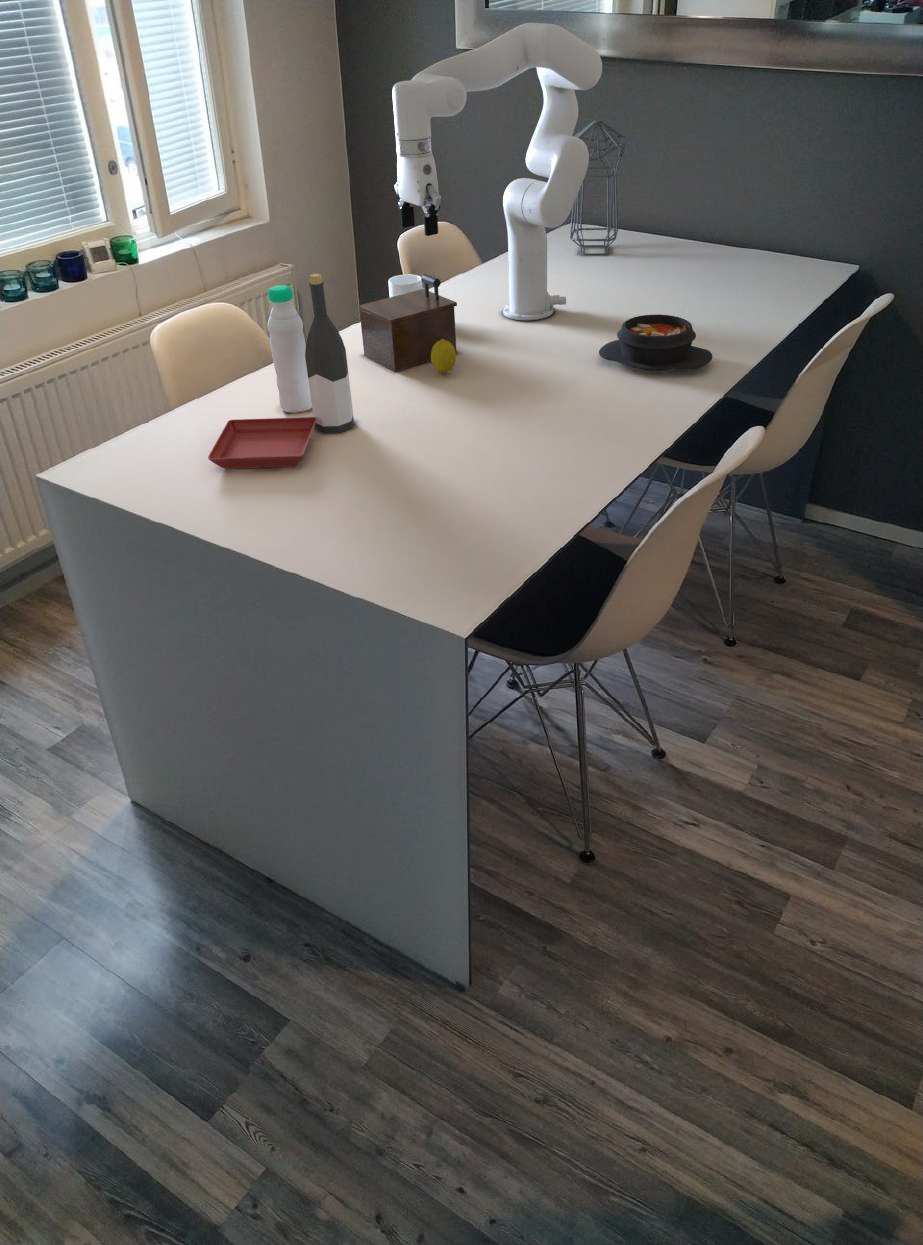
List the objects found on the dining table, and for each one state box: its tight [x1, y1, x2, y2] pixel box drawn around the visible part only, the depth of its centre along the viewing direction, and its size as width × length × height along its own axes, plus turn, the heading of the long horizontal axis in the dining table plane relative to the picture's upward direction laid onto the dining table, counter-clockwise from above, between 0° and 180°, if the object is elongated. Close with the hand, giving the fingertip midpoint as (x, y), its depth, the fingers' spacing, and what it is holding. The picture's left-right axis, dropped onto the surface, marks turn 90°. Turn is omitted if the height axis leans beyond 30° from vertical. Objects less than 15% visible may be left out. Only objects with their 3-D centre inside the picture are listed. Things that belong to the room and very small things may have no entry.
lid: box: [358, 273, 458, 324], centre depth 227 cm, size 18×14×6 cm
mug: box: [387, 273, 425, 298], centre depth 251 cm, size 12×8×10 cm
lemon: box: [430, 339, 457, 375], centre depth 222 cm, size 6×6×8 cm
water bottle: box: [267, 284, 312, 414], centre depth 205 cm, size 7×7×25 cm
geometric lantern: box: [569, 119, 626, 256], centre depth 288 cm, size 16×16×35 cm
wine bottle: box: [305, 273, 354, 434], centre depth 195 cm, size 8×8×30 cm
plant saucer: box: [207, 416, 317, 469], centre depth 194 cm, size 18×18×3 cm
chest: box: [358, 307, 458, 373], centre depth 232 cm, size 17×14×11 cm
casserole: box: [598, 314, 713, 372], centre depth 221 cm, size 25×19×8 cm
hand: (419, 230), depth 224 cm, fingers open, 9 cm apart
